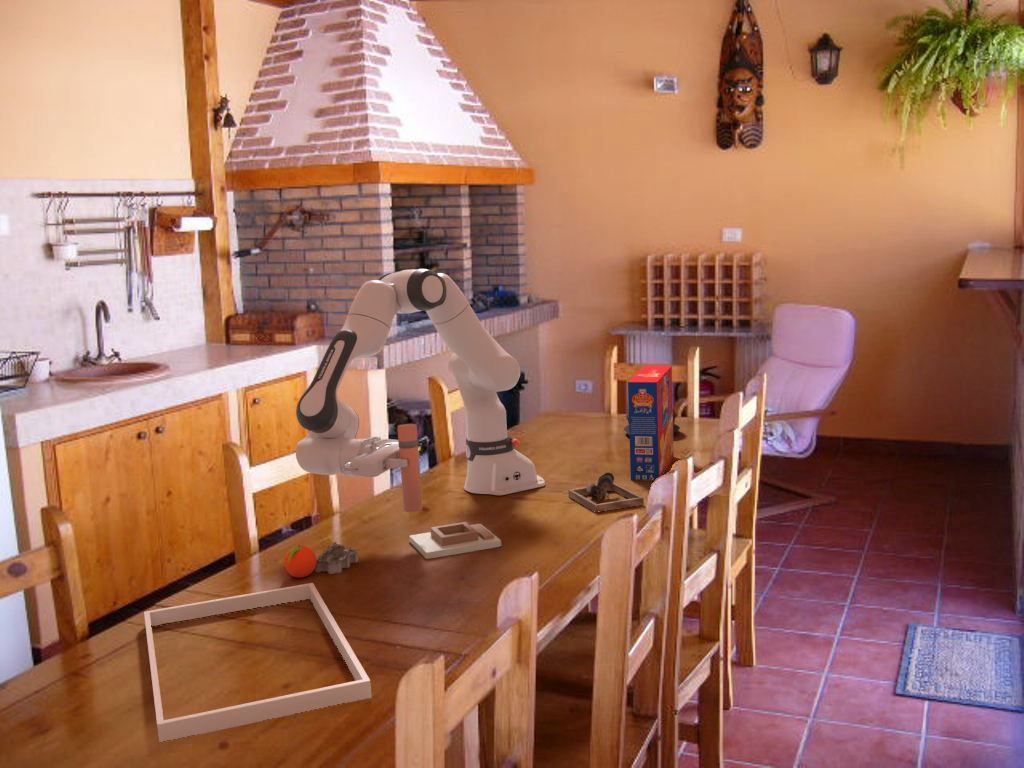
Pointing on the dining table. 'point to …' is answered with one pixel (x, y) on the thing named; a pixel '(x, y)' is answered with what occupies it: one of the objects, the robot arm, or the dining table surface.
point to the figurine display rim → (630, 502)
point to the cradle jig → (454, 540)
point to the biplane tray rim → (261, 708)
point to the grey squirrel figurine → (601, 486)
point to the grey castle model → (329, 561)
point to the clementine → (300, 561)
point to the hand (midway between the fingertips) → (413, 459)
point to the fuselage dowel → (410, 467)
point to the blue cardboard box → (650, 422)
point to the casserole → (675, 427)
